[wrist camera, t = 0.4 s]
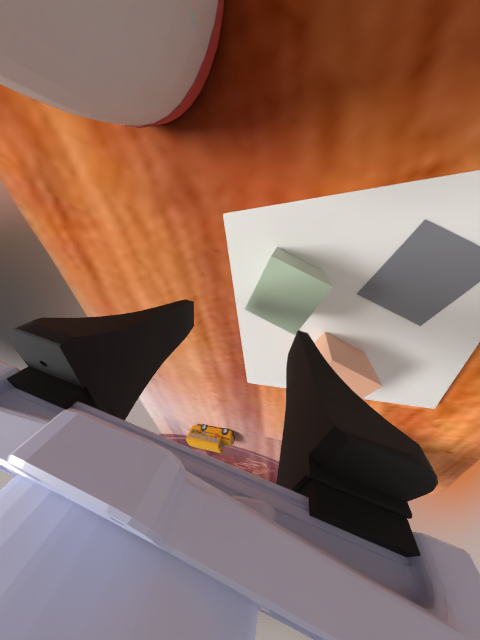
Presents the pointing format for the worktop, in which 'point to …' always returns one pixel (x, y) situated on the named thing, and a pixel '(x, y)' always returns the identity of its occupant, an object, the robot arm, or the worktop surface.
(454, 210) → the baseplate
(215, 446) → the toy bus
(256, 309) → the green brick
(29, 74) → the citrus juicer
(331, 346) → the terracotta brick
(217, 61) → the worktop surface
